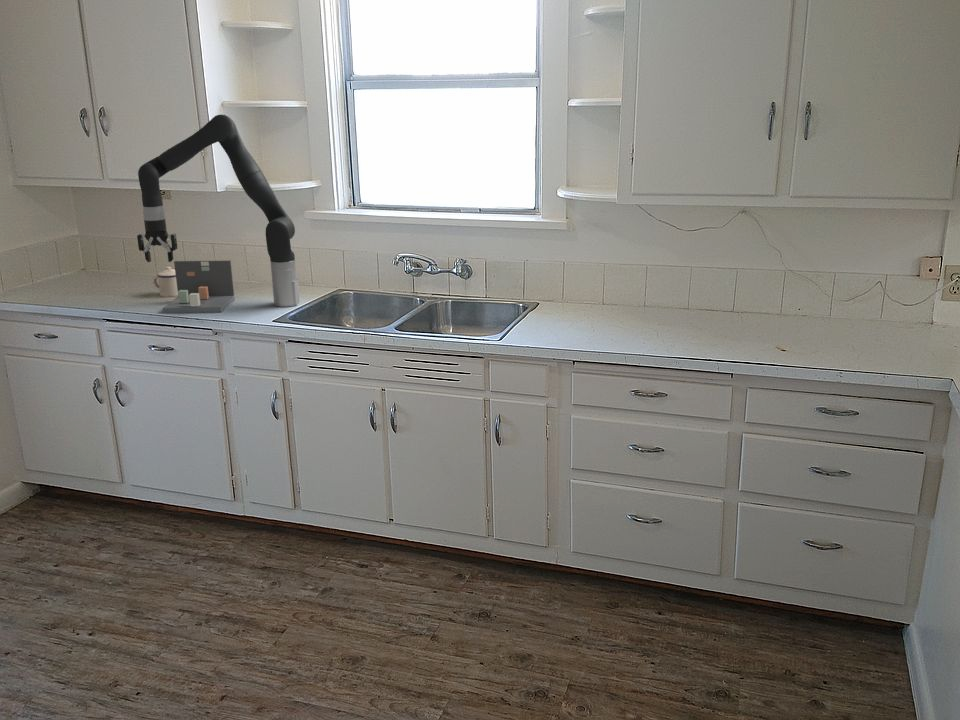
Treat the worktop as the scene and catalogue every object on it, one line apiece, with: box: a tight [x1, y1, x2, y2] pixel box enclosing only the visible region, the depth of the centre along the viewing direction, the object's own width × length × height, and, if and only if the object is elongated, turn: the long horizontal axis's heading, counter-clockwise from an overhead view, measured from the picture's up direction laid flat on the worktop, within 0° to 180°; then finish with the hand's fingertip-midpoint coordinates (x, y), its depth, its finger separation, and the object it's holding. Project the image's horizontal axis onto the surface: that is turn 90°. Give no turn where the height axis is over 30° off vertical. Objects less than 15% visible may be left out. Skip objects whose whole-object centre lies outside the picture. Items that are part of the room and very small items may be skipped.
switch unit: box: [162, 259, 236, 314], centre depth 334 cm, size 22×19×16 cm
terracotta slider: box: [198, 286, 209, 299], centre depth 338 cm, size 3×2×4 cm
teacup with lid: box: [153, 266, 178, 298], centre depth 354 cm, size 12×9×12 cm
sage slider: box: [177, 290, 189, 303], centre depth 333 cm, size 3×2×4 cm
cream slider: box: [189, 293, 200, 306], centre depth 328 cm, size 3×2×4 cm
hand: (159, 261), depth 328 cm, fingers open, 7 cm apart
